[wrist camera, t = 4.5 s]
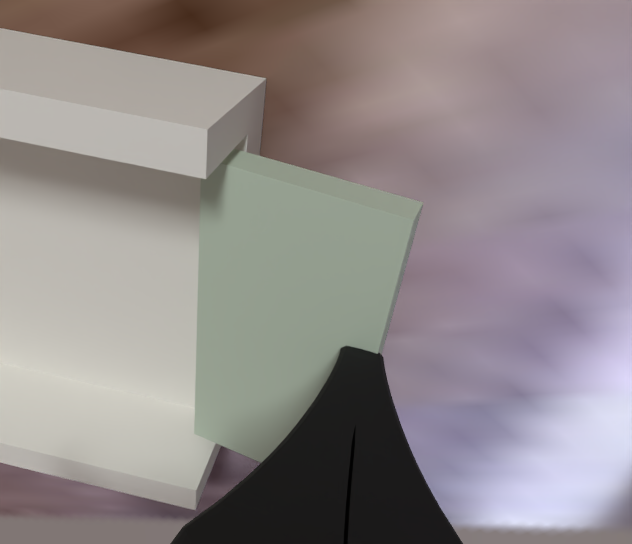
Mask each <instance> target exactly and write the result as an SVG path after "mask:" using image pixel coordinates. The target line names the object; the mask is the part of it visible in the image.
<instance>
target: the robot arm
mask: <svg viewBox="0 0 632 544" xmlns="http://www.w3.org/2000/svg"><path fill="white" fill-rule="evenodd" d="M171 544H463V543H462V542H461V540H460V538H459V537H458V535H457V534H456V532H455V530H454V529H453V527H452V526H451V524H450V523H449V521H448V519H447V518H446V516H445V515H444V513H443V511H442V510H441V508H440V507H439V505H438V503H437V501H436V499H435V498H434V496H433V494H432V492H431V490H430V489H429V487H428V485H427V483H426V481H425V479H424V477H423V475H422V473H421V471H420V469H419V467H418V465H417V463H416V460H415V458H414V456H413V454H412V451H411V449H410V447H409V444H408V442H407V439H406V437H405V434H404V432H403V429H402V426H401V424H400V421H399V418H398V415H397V412H396V409H395V406H394V403H393V400H392V396H391V393H390V389H389V385H388V381H387V377H386V373H385V367H384V361H383V356H382V355H381V354H380V353H378V354H377V353H373V352H370V351H367V350H363V349H360V348H355V347H350V346H344V347H342V348H341V349H340V353H339V356H338V359H337V362H336V364H335V366H334V368H333V370H332V372H331V374H330V376H329V377H328V379H327V381H326V383H325V384H324V386H323V387H322V389H321V391H320V392H319V394H318V395H317V397H316V399H315V400H314V402H313V403H312V404H311V406H310V407H309V408H308V410H307V411H306V412H305V414H304V415H303V416H302V418H301V419H300V420H299V422H298V423H297V424H296V426H295V427H294V428H293V429H292V430H291V432H290V433H289V434H288V435H287V436H286V438H285V439H284V440H283V441H282V442H281V443H280V444H279V445H278V446H277V448H276V449H275V450H274V451H273V452H272V453H271V454H270V455H269V456H268V457H267V458H266V459H265V460H264V461H263V462H262V463H261V464H260V465H259V466H258V467H257V468H256V469H255V470H254V471H253V472H252V473H250V474H249V475H248V476H247V477H246V478H245V479H244V480H242V481H241V482H240V483H239V484H238V485H237V486H235V487H234V488H233V489H232V490H231V491H230V492H228V493H227V494H226V495H225V496H224V497H222V498H221V499H220V500H219V501H217V502H216V503H215V504H213V505H212V506H211V507H209V508H208V509H207V510H205V511H204V512H202V513H201V514H200V515H198V516H197V517H195V518H194V519H193V520H191V521H190V522H189V523H187V524H186V525H185V526H183V528H182V529H181V530H180V532H179V533H178V534H177V536H176V537H175V538H174V540H173V541H172V543H171Z"/></svg>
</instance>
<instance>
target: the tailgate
mask: <svg viewBox="0 0 632 544" xmlns="http://www.w3.org/2000/svg"><path fill="white" fill-rule="evenodd" d="M422 206H423V202H420V201H416V200H413V199H409V198H406V197H402V196H399V195H395V194H392V193H388V192H385V191H381V190H378V189H374V188H371V187H367V186H364V185H360V184H357V183H353V182H350V181H346V180H343V179H339V178H336V177H332V176H328V175H325V174H321V173H318V172H314V171H311V170H307V169H304V168H300V167H297V166H293V165H290V164H286V163H283V162H279V161H276V160H272V159H269V158H265V157H262V156H258V155H255V154H251V153H248V152H244V151H241V150H237V149H233V150H232V151H231V152H230V154H229V155H228V156H227V157H226V158H225V159H224V160H223V161H222V162H221V163H220V164H219V166H218V167H217V168H216V169H215V170H214V171H213V172H212V173H211V174H210V175H209V176H208V178H207V179H202V178H201V185H200V225H199V264H198V303H197V342H196V381H195V420H194V434H196V435H198V436H201V437H203V438H205V439H207V440H210V441H212V442H214V443H217V444H219V445H221V446H224V447H226V448H228V449H230V450H233V451H235V452H237V453H240V454H242V455H244V456H247V457H249V458H251V459H253V460H256V461H258V462H260V463H262V462H263V461H264V460H265V459H266V458H267V457H268V456H269V455H270V454H271V453H272V452H273V451H274V450H275V449H276V448H277V446H278V445H279V444H280V443H281V442H282V441H283V440H284V439H285V438H286V436H287V435H288V434H289V433H290V432H291V430H292V429H293V428H294V427H295V426H296V424H297V423H298V422H299V420H300V419H301V418H302V416H303V415H304V414H305V412H306V411H307V410H308V408H309V407H310V406H311V404H312V403H313V402H314V400H315V399H316V397H317V395H318V394H319V392H320V391H321V389H322V387H323V386H324V384H325V383H326V381H327V379H328V377H329V376H330V374H331V372H332V370H333V368H334V366H335V364H336V362H337V359H338V356H339V353H340V349H341V348H342V347H344V346H350V347H355V348H360V349H363V350H367V351H370V352H373V353H377V354H378V353H380V354H382V351H383V347H384V343H385V340H386V336H387V333H388V329H389V325H390V322H391V318H392V315H393V311H394V307H395V304H396V300H397V297H398V293H399V289H400V286H401V282H402V278H403V275H404V271H405V268H406V264H407V260H408V257H409V253H410V250H411V246H412V242H413V239H414V235H415V231H416V228H417V224H418V221H419V217H420V213H421V210H422Z"/></svg>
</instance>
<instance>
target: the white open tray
mask: <svg viewBox="0 0 632 544" xmlns="http://www.w3.org/2000/svg"><path fill="white" fill-rule="evenodd" d="M265 90H266V78H261V77H256V76H251V75H246V74H240V73H235V72H230V71H224V70H219V69H214V68H209V67H203V66H198V65H193V64H187V63H182V62H177V61H171V60H166V59H161V58H156V57H150V56H145V55H140V54H134V53H129V52H124V51H119V50H113V49H108V48H103V47H97V46H92V45H87V44H82V43H76V42H71V41H66V40H60V39H55V38H50V37H45V36H39V35H34V34H29V33H23V32H18V31H13V30H8V29H2V28H0V462H1V463H5V464H9V465H13V466H17V467H21V468H25V469H29V470H33V471H37V472H41V473H45V474H49V475H53V476H58V477H62V478H66V479H70V480H74V481H78V482H82V483H86V484H90V485H94V486H98V487H102V488H106V489H111V490H115V491H119V492H123V493H127V494H131V495H135V496H139V497H143V498H147V499H151V500H155V501H159V502H164V503H168V504H172V505H176V506H180V507H184V508H188V509H192V510H196V508H197V505H198V503H199V500H200V498H201V495H202V493H203V490H204V488H205V485H206V483H207V480H208V478H209V475H210V473H211V470H212V468H213V465H214V463H215V460H216V458H217V455H218V453H219V450H220V448H221V445H219V444H217V443H214V442H212V441H210V440H207V439H205V438H203V437H201V436H198V435H196V434H194V420H195V381H196V342H197V303H198V264H199V225H200V185H201V178H202V179H207V178H208V176H209V175H210V174H211V173H212V172H213V171H214V170H215V169H216V168H217V167H218V166H219V164H220V163H221V162H222V161H223V160H224V159H225V158H226V157H227V156H228V155H229V154H230V152H231V151H232V150H233V149H237V150H241V151H244V152H248V153H251V154H255V155H258V156H260V147H261V135H262V124H263V112H264V101H265Z"/></svg>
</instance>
